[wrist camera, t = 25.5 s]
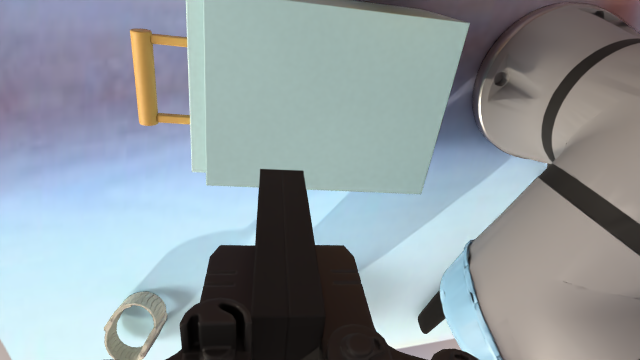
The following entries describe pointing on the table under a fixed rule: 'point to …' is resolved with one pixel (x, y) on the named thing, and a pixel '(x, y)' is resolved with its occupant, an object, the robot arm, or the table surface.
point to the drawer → (195, 43)
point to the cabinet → (326, 91)
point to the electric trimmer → (431, 314)
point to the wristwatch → (131, 356)
